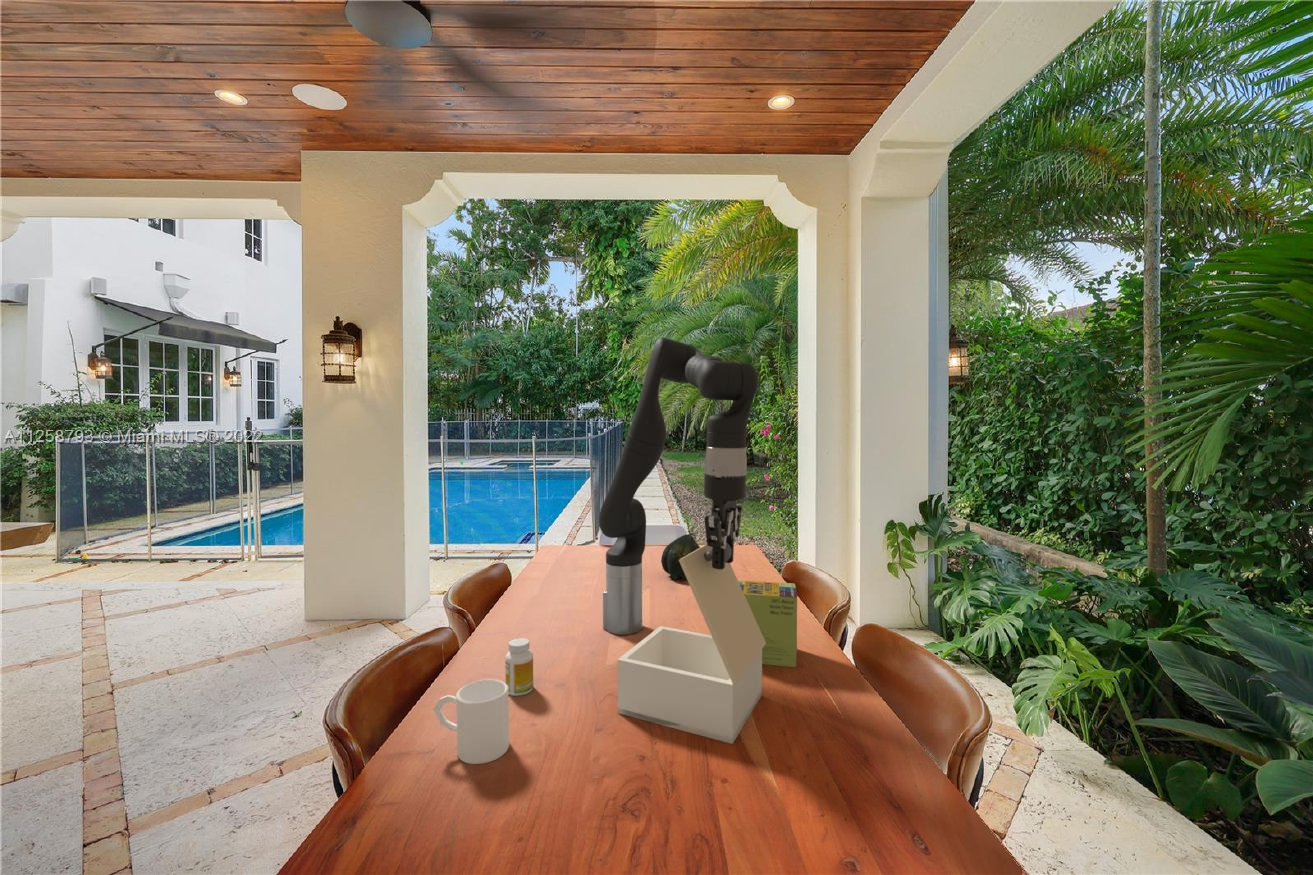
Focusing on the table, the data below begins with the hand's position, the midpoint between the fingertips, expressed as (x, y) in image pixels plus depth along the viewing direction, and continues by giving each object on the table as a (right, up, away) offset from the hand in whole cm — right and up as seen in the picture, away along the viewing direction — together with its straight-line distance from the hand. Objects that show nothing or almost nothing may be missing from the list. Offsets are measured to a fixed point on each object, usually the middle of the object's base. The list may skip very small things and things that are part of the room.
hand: (722, 564), depth 101 cm
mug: (-42, -28, -10) cm, 52 cm away
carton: (-5, -27, +4) cm, 28 cm away
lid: (0, -7, 0) cm, 7 cm away
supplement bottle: (-39, -27, +9) cm, 49 cm away
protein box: (+12, -27, +25) cm, 39 cm away
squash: (-3, -24, +87) cm, 91 cm away
